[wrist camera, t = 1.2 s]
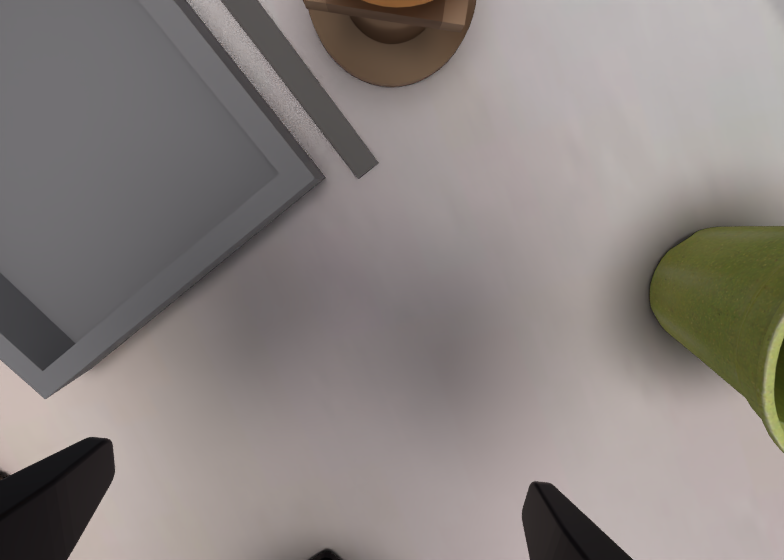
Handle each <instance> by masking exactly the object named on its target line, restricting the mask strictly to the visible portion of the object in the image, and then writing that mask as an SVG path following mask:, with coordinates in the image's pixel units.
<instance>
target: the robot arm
mask: <svg viewBox="0 0 784 560" xmlns="http://www.w3.org/2000/svg"><path fill="white" fill-rule="evenodd" d="M114 474H115V463H114V453H113V444H112V442H111V440H110V439H107V438H98V437H89V438H86V439H83V440H81V441H79V442H77V443H75V444H73V445H71V446H69V447H67V448H65V449H63V450H61V451H59V452H57V453H55V454H53V455H51V456H49V457H47V458H45V459H43V460H41V461H39V462H37V463H34V464H32V465H30V466H28V467H26V468H24V469H22V470H20V471H18V472H16V473H14V474H12V475H10V476H8V477H6V478H4V479H2V480H0V560H67V559H68V557H69V556H70V554H71V552H72V551H73V549H74V547H75V546H76V544H77V542H78V540H79V539H80V537H81V535H82V533H83V532H84V530H85V528H86V526H87V525H88V523H89V521H90V519H91V518H92V516H93V514H94V512H95V511H96V509H97V507H98V505H99V504H100V502H101V500H102V498H103V497H104V495H105V493H106V491H107V490H108V488H109V486H110V484H111V482H112V480H113V478H114ZM522 522H523V527H524V532H525V537H526V542H527V547H528V552H529V557H530V560H633V559H632V558H631V557H630V556H629V555H628V554H627V553H625V552H624V551H623V550H622V549H621V548H620V547H619V546H618V545H617V544H616V543H615V542H614V541H613V540H612V539H610V538H609V537H608V536H607V535H606V534H605V533H604V532H603V531H602V530H601V529H600V528H599V527H598V526H597V525H595V524H594V523H593V522H592V521H591V520H590V519H589V518H588V517H587V516H586V515H585V514H584V513H583V512H582V511H580V510H579V509H578V508H577V507H576V506H575V505H574V504H573V503H572V502H571V501H570V500H569V499H568V498H567V497H565V496H564V495H563V494H562V493H561V492H560V491H559V490H558V489H557V488H556V487H555V486H554V485H552V484H551V483H548V482H538V481H534V482H532V483H531V484H530V486H529V489H528V492H527V496H526V499H525V502H524V505H523V509H522ZM312 560H339V559H338V558H337V557H336V556H335V555H334V554H333V553H332V552H329V551H326V552H322V553H321V554H319V555H318V556H316V557H315V558H313V559H312Z"/></svg>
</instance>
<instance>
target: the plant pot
mask: <svg viewBox="0 0 784 560" xmlns="http://www.w3.org/2000/svg"><path fill="white" fill-rule="evenodd" d="M650 305H651V308H652V311H653V312H654V314H655V316H656V318H657V320H658V321H659V323H660V325H661V326H662V327H663V328H664V330H665V331H666V332H668V333H669V334H670V335H671V336H672V337H674V338H675V339H676V340H677V341H678V342H680V343H681V344H682V345H683V346H684V347H686V348H687V349H688V350H689V351H691V352H692V353H693V354H694V355H695V356H697V357H698V358H699V359H700V360H701V361H703V362H704V363H705V364H706V365H707V366H708V367H710V368H711V369H712V370H713V371H714V372H715V373H717V374H718V375H719V376H720V377H721V378H723V379H724V380H725V381H726V382H727V383H728V384H730V385H731V386H732V387H733V388H734V389H736V390H737V391H738V392H739V393H740V394H742V395H743V396H744V397H745V398H746V399H747V401H748V403H749V404H750V406H751V407H752V409H753V410H754V411H755V412H756V414H757V415H758V416H759V417H760V418H761V419H762V421H763V424H764V426H765V428H766V430H767V432H768V434H769V436H770V437H771V438H772V440H773V441H774V443H775V444H776V445H777V446H778V447H779V449H780V450H781V451H782V452H783V453H784V226H735V227H712V228H707V229H703V230H700V231H698V232H696V233H695V234H693V235H692V236H691V237H689V238H688V239H686V240H685V241H683V242H681V243H680V244H678V245H677V246H675V247H674V248H672V249H670V250H669V251H668V252H667V253H666V254H665V256H664V257H663V258H662V259H661V261H660V263H659V264H658V266H657V268H656V270H655V272H654V275H653V278H652V281H651V286H650Z"/></svg>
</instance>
